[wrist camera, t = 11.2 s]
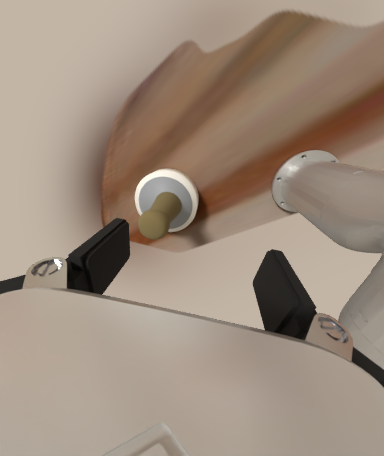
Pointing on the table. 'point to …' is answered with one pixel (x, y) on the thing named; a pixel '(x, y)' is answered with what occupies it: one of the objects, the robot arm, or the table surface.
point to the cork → (160, 215)
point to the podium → (175, 184)
